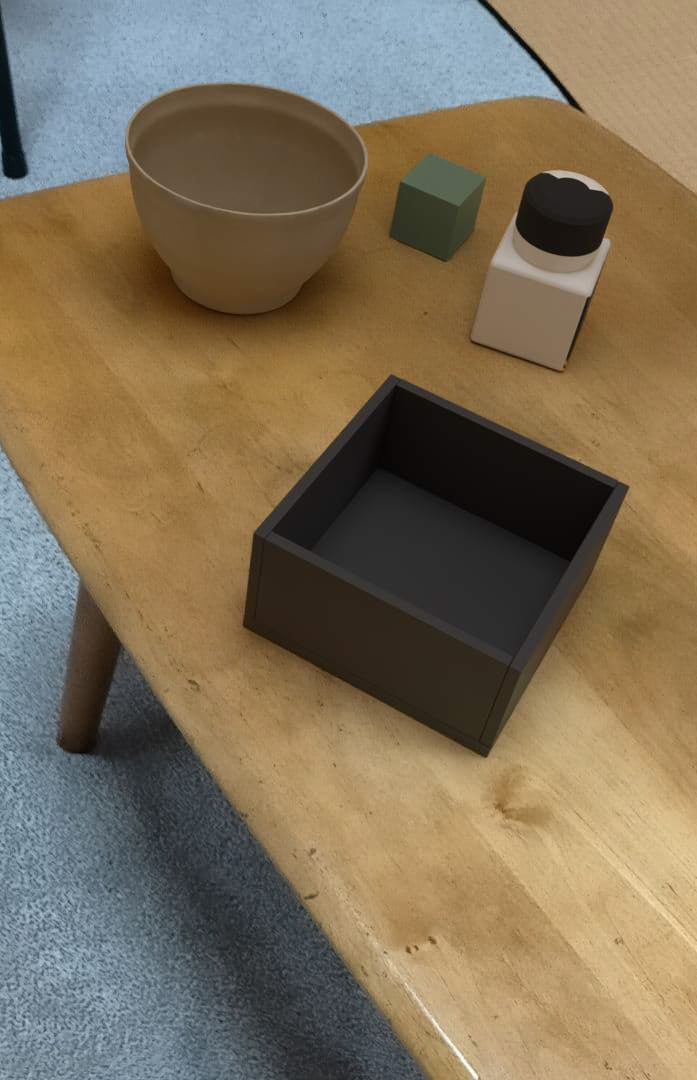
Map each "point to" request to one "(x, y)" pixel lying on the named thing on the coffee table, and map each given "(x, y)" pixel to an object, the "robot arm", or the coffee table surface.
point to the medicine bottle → (546, 269)
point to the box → (437, 206)
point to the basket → (430, 559)
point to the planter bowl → (243, 189)
